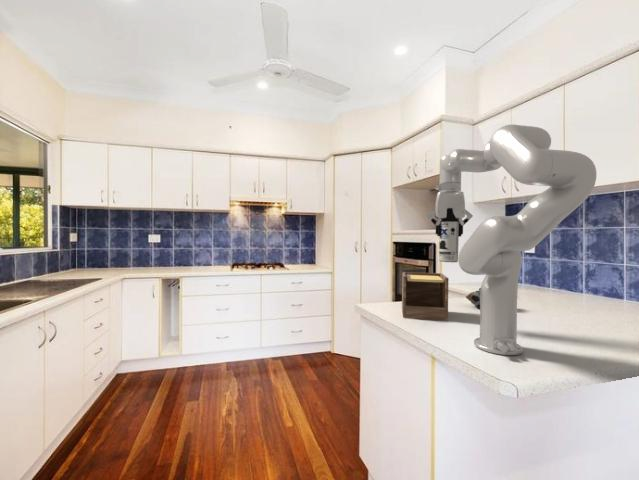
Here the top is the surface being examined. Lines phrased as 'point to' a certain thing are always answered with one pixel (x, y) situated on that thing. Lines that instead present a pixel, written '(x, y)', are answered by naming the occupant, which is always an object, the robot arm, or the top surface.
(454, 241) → the spray can
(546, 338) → the top surface
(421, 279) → the trapdoor
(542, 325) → the top surface
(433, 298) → the stand
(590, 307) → the top surface
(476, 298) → the lucky cat figurine
